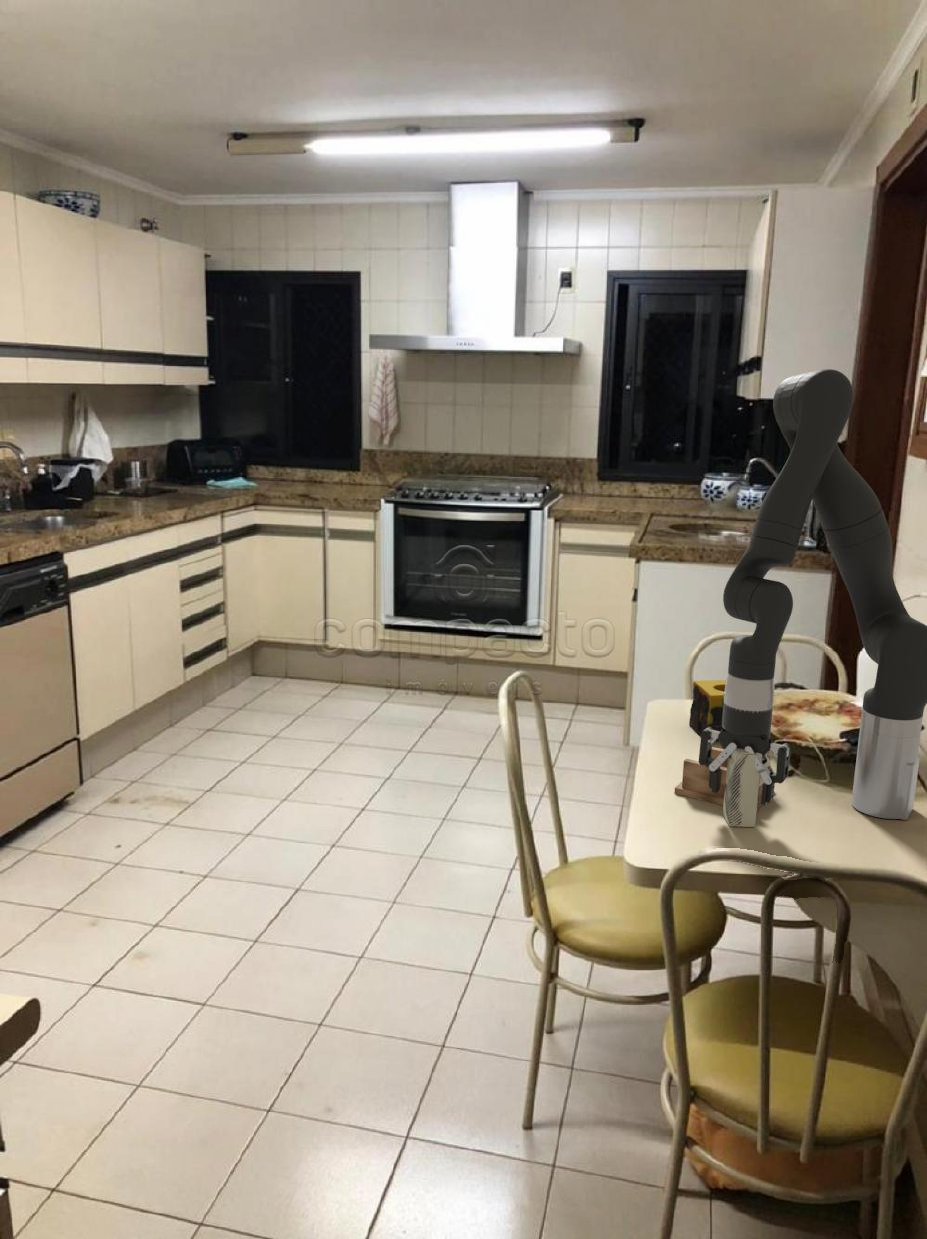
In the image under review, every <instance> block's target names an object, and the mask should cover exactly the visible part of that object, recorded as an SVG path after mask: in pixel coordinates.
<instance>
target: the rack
mask: <svg viewBox="0 0 927 1239" xmlns="http://www.w3.org/2000/svg"><path fill="white" fill-rule="evenodd" d="M723 751H724V749H723V748H720V747H714V746H712V753H711V758H713V759H716V758H717V757H718V756H719V755H720V754H721V753H722V752H723ZM768 759H769V761H770V758H768ZM727 764H728V759H727V760H726V761H725V762H724V763H723V764H722V765H721V766H720V768H721V769H722V774H721V785H720V790H719V791H718V792H717V793H713V792H712V789H711V788H709V775H710V770H709V768H708V767H706V766H705V765H700V764H699V760H694V759H690V758H685V759H684V760H683V766H682V767H683V768H682V769H683V770H682V781H681V782H680V783H678V784H677V785H676V786H675V787H674V792H673V793H674V794H675V795H676V794H677V795H681V796H685V797H688V798H689V797H690V798H693V799H697V800H701V801H704V802H708V803H712V804H717V805H721V806H723V805H724V794H725V784H726V774H727ZM763 783H764V780H763V779H762V777H761V775H760V785H759V794H758V803H757V810H758V809H759V808H760V807H761V806H762V804H761V797H762V786H763Z"/></svg>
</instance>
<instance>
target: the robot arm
mask: <svg viewBox="0 0 927 1239" xmlns="http://www.w3.org/2000/svg"><path fill="white" fill-rule="evenodd" d="M854 400H855V396H854V389H853V385H852V384H851V381H850V380H849V378H848V377H847V375H846V374H844V373H843V372H841V371H839V370H837V369H831V368H830V369H829V368H825V369H823V368H822V369H818V370H814V371H813V370H812V371H808V372H804V373H799V374H794V375H792V376H790V377H787V378H785V379H784V380H782V381H781V382H779V384H778V386H777V388H776V389H775V392H774V395H773V400H772V401H773V402H772V408H773V413H774V417H775V421H776V423H777V425H778V428H779V429H780V431H781V433H782V435H783V437H784V439H785V441H786V442H787V443H786V444H788V447H789V450H790V453H789V455H788V458H787V460H786V461H785V464H784V465H783V467H782V469H781V471H780V472H779V473H778V475H777V477H776V479H775V480H774V482H773V483H772V485H771V486H770V488H769V489H768V491H767V492H766V495H765V496H764V498H763V500H762V503H761V505H760V507H759V509H758V512H757V517H756V520H755V523H754V525H753V526H754V527H753V531H752V534H751V537H750V541H749V544H748V546H747V548H746V550H745V551H744V553H743V555H742V556H741V558H740V559H739V562H738V563H737V565H736V566H735V568H734V569H733V571H732V573H731V575H730V576H729V578H728V579H727V582H726V584H725V587H724V591H723V595H722V597H723V598H722V602H723V606H724V610H725V612H726V613H727V614H728V615H729V616H730V617H732V618H733V619H737V620H739V621H740V620H741V621H745V622H748V623H754V624H755V629H754V632H753V633H752V634H746V635H743V634H742V635H737V636H736V637H734V638H733V639H732V641H731V643H730V647H729V657H728V669H727V677H726V679H725V680H726V685H725V692H724V706H723V718H722V730H721V732H720V731H715V730H713V728H712V727H708V728H706V729H705V730H704V731H703V732H702V733H701V736H700V741H699V743H700V744H699V754H698V761H699V764H700V765H705V766H706V767H708V768H709V770H710V775H709V788H711V789H712V792H713V793H717V792H718V791H719V790H720V785H721V774H722V769H721V768H720V766H721V765H722V764H723V763H724V762H725V761H726V760H727V759H728V757H729V758H730V759H731V754H732V752H733V750H735V749H736V748H739V749H744V750H745V752H747V753H751V754H752V755H756V752H757V753H760V754H762V762H761V761H760V759H759V758H758V757H757V756H756V760H755V766H754V767H755V769H756V770H757V772H758V773H760V775H761V777H762V779H763V780H764V783H763V786H762V797H761V804H762V805H763V806H767V805H768V804H770V803H771V802H772V800H773V798H774V796H775V787H776V786H775V785H776V784H777V783H778V784H782V783H784V782H785V780H786V779H787V778H788V776H789V766H790V757H791V745H790V744H789V743H787V742H785V743H783V744H780V743H775V742H773V740H772V738H771V730H772V720H773V710H774V700H775V699H774V698H775V672H776V663H777V662H776V660H777V653H778V649H779V647H780V644H781V642H782V638H783V637H784V633H785V631H786V629H787V626H788V623H789V621H790V618H791V616H792V614H793V609H794V608H793V607H794V599H793V595H792V592H791V590H790V588H789V586H787V585H786V584H785V583H783V582H781V581H777V580H773V579H767V578H765V577H766V575H767V573H768V572H769V571H770V570H771V569H772V568H777V567H786V566H787V567H788V566H789V565H791V564H792V563H793V561H794V559H795V557H796V553H797V549H798V547H799V544H800V539H801V536H802V533H803V530H804V526H805V523H806V519H807V516H808V513H809V509H810V507H811V503H813V506H814V508H815V510H816V513H817V516H818V518H819V519H818V520H819V522H820V525H821V528H822V530H823V533H824V536H825V539H826V542H827V544H828V547H829V549H830V551H831V554H832V556H833V558H834V561H835V564H836V566H837V569H838V571H839V574H840V576H841V579H842V580H843V582H844V585H845V587H846V589H847V592H848V594H849V596H850V597H849V598H850V599H851V603H852V606H853V609H854V610H853V611H854V614H855V618H856V622H857V626H858V631H859V635H860V639H861V643H862V646H863V648H864V651H865V653H866V655H867V656H868V657H869V658H870V659H871V660H872V661H873V662H875V663H876V664H877V669H876V670H877V671H876V677H875V680H874V681H875V683H874V686H873V687H872V688H869V689H867V690H865V692H864V695H863V698H862V700H863V701H862V707H861V717H860V725H859V734H858V742H857V752H856V758H855V759H856V762H855V768H854V777H853V787H852V793H851V795H852V796H851V804H852V806H853V808H854V809H856V810H857V811H859V812H860V813H864V814H866V815H868V816H870V817H871V816H872V817H876V818H880V819H881V818H882V819H888V820H889V819H891V820H892V819H894V820H897V819H899V820H903V821H907V820H908V818H909V817H910V815H911V813H912V811H913V809H914V805H915V804H914V803H915V797H916V789H917V782H918V781H917V780H918V773H919V766H920V759H921V758H920V755H919V749H920V748H919V747H920V741H921V733H922V727H923V726H922V725H923V720H924V719H923V718H924V711H925V707H926V705H927V625H926V624H924V623H923V622H921V621H920V620H917V619H915V618H914V617H911V615H910V614H909V612H908V610H907V609H906V607H905V605H904V603H903V601H902V598H901V596H900V593H899V591H898V589H897V587H896V584H895V580H894V574H893V573H894V572H893V540H892V539H893V538H892V535H891V534H892V533H891V530H890V527H889V524H888V521H887V519H886V516H885V512H884V510H883V507H882V505H881V503H880V500H879V498H878V496H877V495H876V493H875V491H874V490H873V489H872V487H871V486H870V485H869V484H868V482H867V481H866V480H865V479H864V478H863V477H862V475H861V474H860V473H859V472H858V471H857V470H856V469H855V468H854V467H853V465H852V464H851V463H850V462H849V461H848V459H847V458H846V457H845V455H844V454H843V452H842V450H841V449H840V447H839V444H838V441H839V439H840V437H841V435H842V433H843V431H844V428H845V427H846V424H847V422H848V419H849V418H850V415H851V413H852V409H853V405H854ZM717 738H718V740H719V741H718V742H719V744H720V745H721V747H722V749H724V751H723V752H722V753H721V754H720V755H719V756H718V757H717V758H716V759H713V758H711V753H712V747H713V743H715V742H717V741H716V739H717ZM770 751H771V752H773V756H774V758H776V771H775V770H774V769H773V767H772V765H771V761H770V760H769V759H770V758H769V757H768V756H767V753H769V752H770ZM757 764H758V765H757ZM762 805H761V806H762Z"/></svg>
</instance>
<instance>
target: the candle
mask: <svg viewBox="0 0 927 1239" xmlns="http://www.w3.org/2000/svg"><path fill="white" fill-rule="evenodd" d="M726 680H727V679H721V680H717V679H716V680H713V679H712V680H706V679H703V680H693V682H692V696H693V697H692V702H691V706H690V711H689V712H690V713H689V714H690V715H689V720H688V721H689V722H688V725H689V726H690V728H692V730H694V731H695V733H697V735H699V736H700V737H701V733H702V732H703V731H704V730H705V729H706V728H708V727H712V728H713V730H715V731H720V732H721V730H722V718H723V706H724V692H725V685H726ZM715 742H719V740H718V738H717V739H716V741H715Z"/></svg>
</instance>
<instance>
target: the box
mask: <svg viewBox="0 0 927 1239" xmlns="http://www.w3.org/2000/svg"><path fill="white" fill-rule="evenodd" d="M756 756H757V757H758V758H759V759H760V761H761V762H762V754H760V753H757V752H756V755H752V754H751V753H747V752H745V750H744V749H739V748H736V749H735V750H733V752H732V754H731V759H730V758H729V757H728V764H727V774H726V784H725V794H724V805H722V806H723V807H722V814H723V817H724V819H725V821H726V822H727V824H728V826H729V827H743V828H745V827H746V828H755V827H756V820H757V811H758V809H757V803H758V794H759V785H760V773H758V772H757V770H756V769H755V767H754V766H755V760H756ZM757 765H758V764H757Z"/></svg>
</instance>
